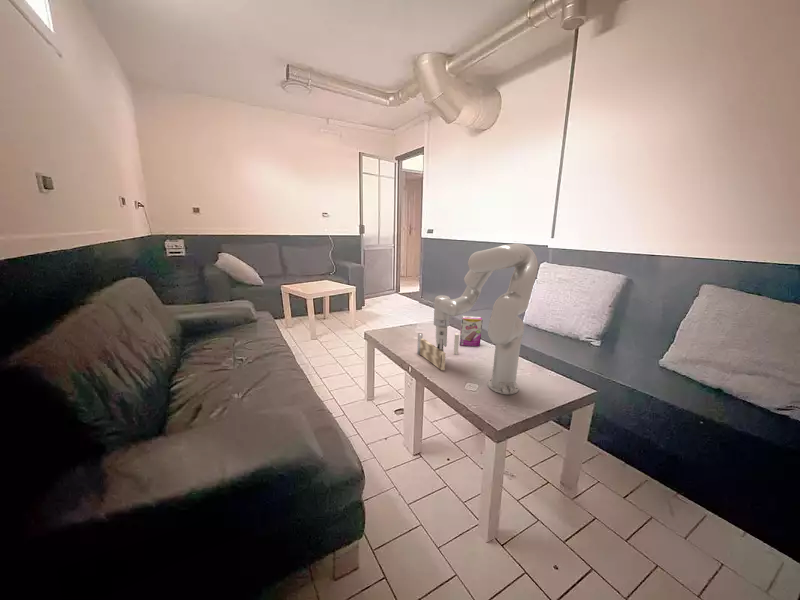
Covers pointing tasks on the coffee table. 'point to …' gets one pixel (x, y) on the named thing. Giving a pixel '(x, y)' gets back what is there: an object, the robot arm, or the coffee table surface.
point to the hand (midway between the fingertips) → (439, 357)
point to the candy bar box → (470, 331)
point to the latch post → (456, 343)
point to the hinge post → (419, 342)
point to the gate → (432, 354)
